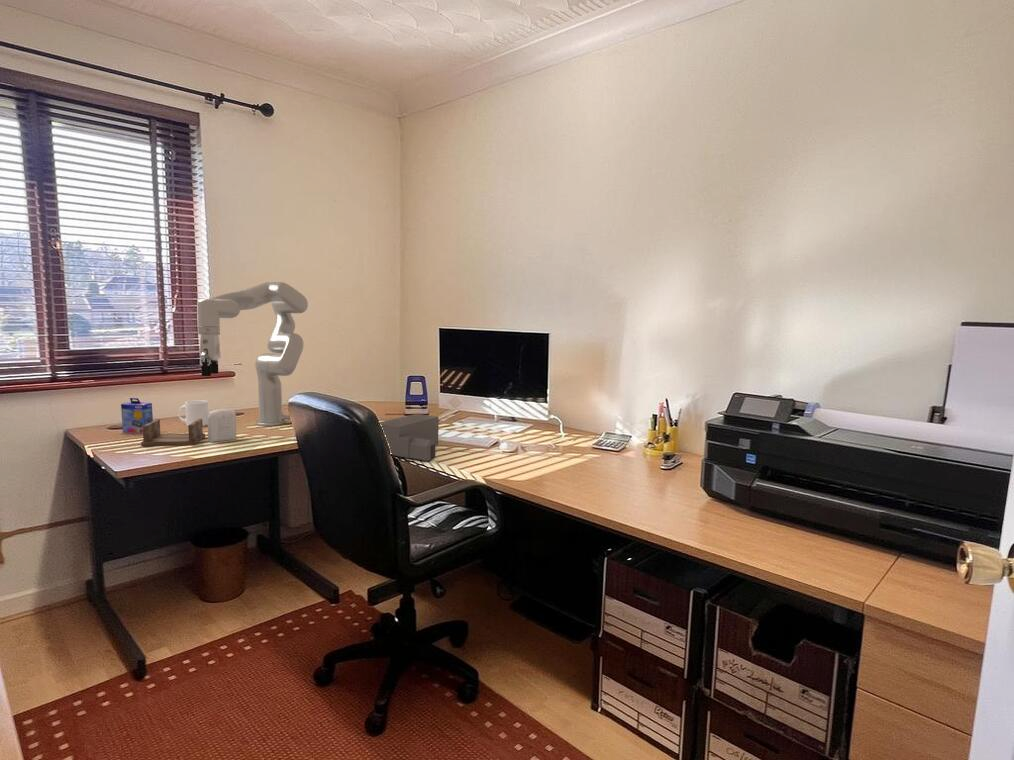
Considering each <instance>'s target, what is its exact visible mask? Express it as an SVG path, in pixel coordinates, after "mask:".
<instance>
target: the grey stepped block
mask: <svg viewBox="0 0 1014 760" xmlns="http://www.w3.org/2000/svg"><path fill="white" fill-rule="evenodd" d="M380 423H381V425H382V428H383V430H384V433H385V435H386V438H387V441H388V443H389V446H390V449H391V453H392V455H391V456H397V457H401V458H408V459H409V458H410V459H415V460H421V461H427V462H428V461H430V460H433V459H435V458H436V453H437V452H436V447H437V446H436V445H438V444H439V429H440V428H439V424H440V423H439V416H435V415H427V414H419V413H414V414H409V415H404V416H401V417H397V418H393V419H389V420H384V421H380Z"/></svg>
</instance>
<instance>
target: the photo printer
mask: <svg viewBox="0 0 1014 760" xmlns="http://www.w3.org/2000/svg"><path fill="white" fill-rule="evenodd" d="M231 440H232V441H233V440H237V413H236V410H233V409H229V408H219V409H215V410H212V411H208V425H207V441H208V442H209V443H213V442H215V443H216V442H223V441H225V442H226V441H231Z"/></svg>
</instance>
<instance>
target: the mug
mask: <svg viewBox="0 0 1014 760" xmlns="http://www.w3.org/2000/svg"><path fill="white" fill-rule="evenodd" d="M184 403H185V404H183V405H181V407H179V409H178V412H177V413H178V418H179V420H180V421H181V422H183V423H185V425H186V427H188V425H190V424H191V423H193V422H194V421H196V420H198V419H202V427H204V426H205V425H206V426H208V413H209V401H208V400H205V399H204V400H203V399H202V400H201V399H200V400H199V399H196V400H186V401H185V402H184ZM184 409H185V418H183V417H181V414H180V413H181V411H182V410H184ZM206 426H205V427H206Z"/></svg>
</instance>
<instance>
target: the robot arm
mask: <svg viewBox="0 0 1014 760" xmlns="http://www.w3.org/2000/svg"><path fill="white" fill-rule="evenodd" d="M269 303H271V306H272V309H273V312H274V315H275V324H274V327H273V329H272V332H271V334H270V336H269V339H268V341H267V349H268V350H269V351H270V352H269V353H268V352H267V353H266V352H265V353H261V354H260V355H258V356H257V357H256V358H255V365H254V366H255V370H256V376H257V384H258V386H257V387H258V390H257V391H258V420H256V421H255V422H254V423H255V425H256V426H260V427H261V426H262V427H263V426H264V427H272V426H273V427H275V426H280V425H281V424H282V425H284V423H285V422H286V421H287V420H288V421H289V420H290V414H284V412H283V407H282V405H283V404H282V403H283V401H282V399H283V398H282V382H281V379H280V377H287V376H290V375H292V374H293V373H294V371H295V370H296V367H297V365H298V362H299V361H300V358H301V355H302V353H303V350H304V340H303V338H302V336H301V335H300V334H298V333H294V332H295V329H296V322H295V320H294V317H293V316H292V314H304V313H305V312H306V311H307V309H308V308H309V302H308V300H307V298H306V296H305V295H303V294H302V293H301V292H299V290H297V289H295V288H294V287H293V286H291V285H290V284H288V283H286V282H282V281H267V282H266V281H265V282H263V283H260V284H257V285H255V286H251V287H249V288H246V289H241V290H236V291H233V292H229V293H224V294H220V295H217V296H213V297H212V298H200V299H198V300H197V304H196V305H197V307H196V308H197V334H198V336H199V335H200V338H199V339H200V340H199V341H200V343H199V355H200V362H201V363H200V365H201V366H200V367H201V377H211V376H212V375H213V374H214V375H215V374H219V360H220V359H221V347H220V346H221V344H220V337H219V336H220V334H221V327H220V326H221V323H220V320H221V319H233V318H236V317H238V315H240V313H241V311H246V310H247V311H249V310H253V309H256V308H259V307H262V306H265V305H267V304H269ZM271 352H272V353H271ZM279 376H280V377H279ZM290 421H291V420H290ZM286 423H287V422H286ZM286 423H285V424H286Z"/></svg>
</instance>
